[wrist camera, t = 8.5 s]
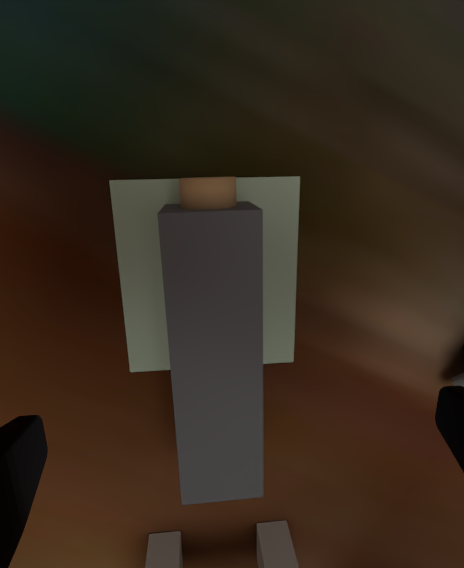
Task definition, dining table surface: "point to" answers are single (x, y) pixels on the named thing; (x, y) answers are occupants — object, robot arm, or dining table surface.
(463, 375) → the gun
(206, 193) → the grey tall block
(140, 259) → the mat
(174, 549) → the clip
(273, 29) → the dining table surface
